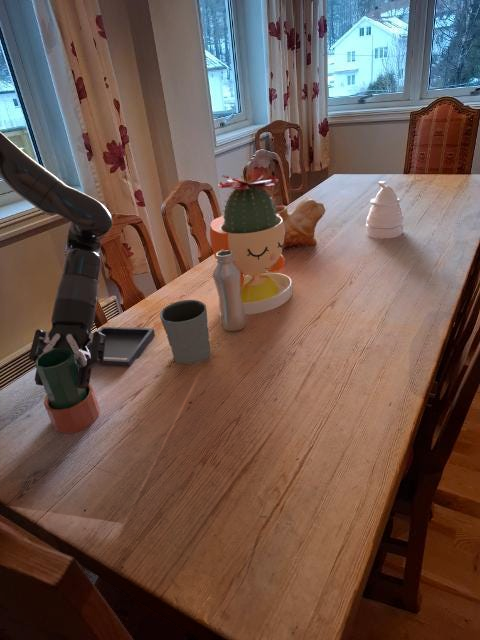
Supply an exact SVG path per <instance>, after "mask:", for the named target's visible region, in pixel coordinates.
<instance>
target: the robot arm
mask: <svg viewBox="0 0 480 640" xmlns="http://www.w3.org/2000/svg"><path fill="white" fill-rule="evenodd" d="M0 178H1V179H2V180H3V182H4V183H5V184H6V185H7V186H8V187H9V188H10V189H11V190H12V191H13V192H15V193H16V194H17V195H18V196H20V197H21V198H22V199H24V201H26V202H28V203H29V204H31V205H32V206H34V207H35V208H36V209H38V210H39V211H40V212H42V213H44V214H45V215H48V216H51V217H52V216H53V217H54V216H57V215H58V216H59V217H62V218H64V219H65V220H67V221H69V225H68V229H67V236H66V255H65V259H64V262H63V266H62V272H61V276H60V280H59V283H58V285H57V288H56V289H57V290H56V293H55V294H56V295H55V298H54V305H53V310H52V314H51V320H50V321H51V324H52V325H51V326H52V327H51V329H50V330H49V331H46V330H42V329H39V328H37V329H36V330H35V332H34V336H33V340H32V343H31V348H30V352H29V355H28V360H30V361H32V362H35V361H36V359H37V358H38V357H40V356H41V355H42V354H43V353H45V352H48V351H50V350H52V349H57V348H68V349H71V350H72V351H73V354H74V356H76V357H77V358H78V359H79V362H80V364H79V365H80V366H78V368H79V372H78V378H77V383H76V387H77V388H81V389H85V388H86V387H87V386H88V384H89V383H90V380H91V375H92V369H93V368H95V367H98V366H100V365H102V364H103V359H105V357H104V350H105V341H106V335H105V334H103V333H100V332H98V331H99V330H95V331H94V332H92V329H93V328H94V324H95V317H96V312H97V306H98V300H99V290H100V287H99V286H100V279H101V275H102V268H103V259H102V257H101V255H100V254H101V249H102V242H103V239H105V238H106V236H107V235H108V234H109V233H110V232H111V231H112V228H113V225H114V220H113V216H112V214H111V212H110V211H109V210H108V209H107V207H106V206H105V205H104V204H102V203H101V202H100V201H98V200H97V199H96V198H93V197H92V196H90V195H88V194H86V193H84V192H82V191H81V190H78V189H76V188H73V187H71V186H68V185H67V184H66V183H65V182H63V181H62V180H60V178H58V177H57V176H55V175H54V174H53V173H52V172H50V171H49V170H47V168H45V167H44V166H42V165H41V164H39V163H38V162H37V161H35V160H34V159H33V158H31V157H30V156H29V155H28V154H27V153H26V152H24V151H23V150H22V149H21V148H19V147H18V145H16V144H14V142H12V141H11V140H10V139H9V138H8V137H7V136H6V135H5V134H3V133H2V132H1V131H0ZM90 341H91V343H92V349H91V354H90V352H89V350H88V348H87V346H86V345H87V344H88V343H89V342H90ZM64 352H65V353H68V352H66V351H65V350H62V351H61V352H58V353H64ZM90 356H91V357H90ZM100 367H101V366H100ZM35 369H36V368H35ZM34 382H35V385H37V386H43V383H42V381H41V379H40V376H39V374H38V371H37V369H36V370H35V375H34ZM43 387H44V386H43Z"/></svg>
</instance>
